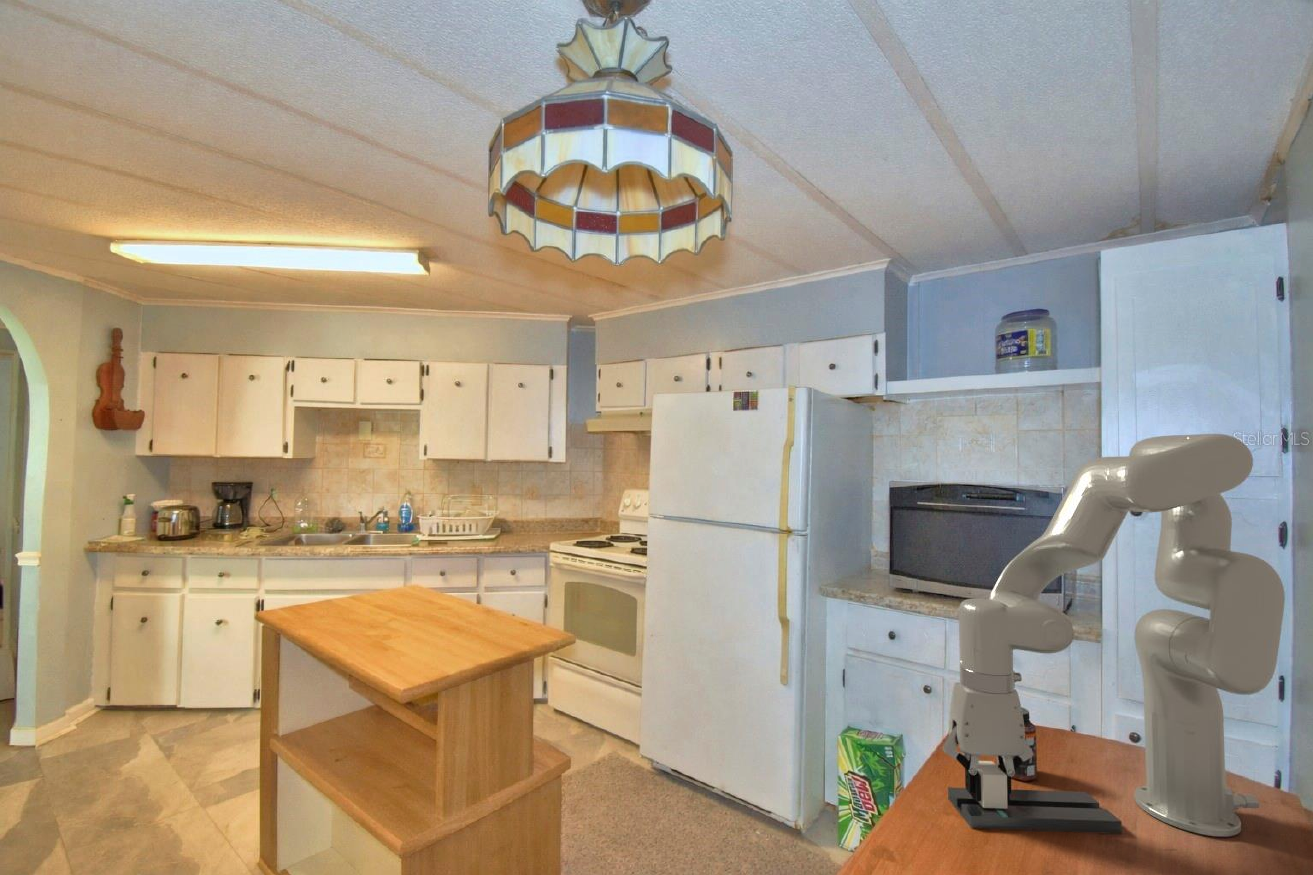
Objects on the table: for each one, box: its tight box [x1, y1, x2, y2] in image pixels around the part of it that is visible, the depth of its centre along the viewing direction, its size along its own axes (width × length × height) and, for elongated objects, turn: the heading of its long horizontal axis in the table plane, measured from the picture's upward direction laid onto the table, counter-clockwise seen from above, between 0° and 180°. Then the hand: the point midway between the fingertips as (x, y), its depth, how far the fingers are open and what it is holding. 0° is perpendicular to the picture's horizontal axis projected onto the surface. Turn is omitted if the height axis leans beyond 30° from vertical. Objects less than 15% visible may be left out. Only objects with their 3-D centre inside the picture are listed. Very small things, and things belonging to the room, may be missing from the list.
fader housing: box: [947, 787, 1123, 834], centre depth 94 cm, size 22×8×2 cm, turn 87°
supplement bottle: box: [1011, 706, 1038, 782], centre depth 107 cm, size 6×6×11 cm
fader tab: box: [978, 760, 1007, 809], centre depth 94 cm, size 4×4×6 cm
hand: (988, 795), depth 94 cm, fingers closed on fader tab, 3 cm apart
